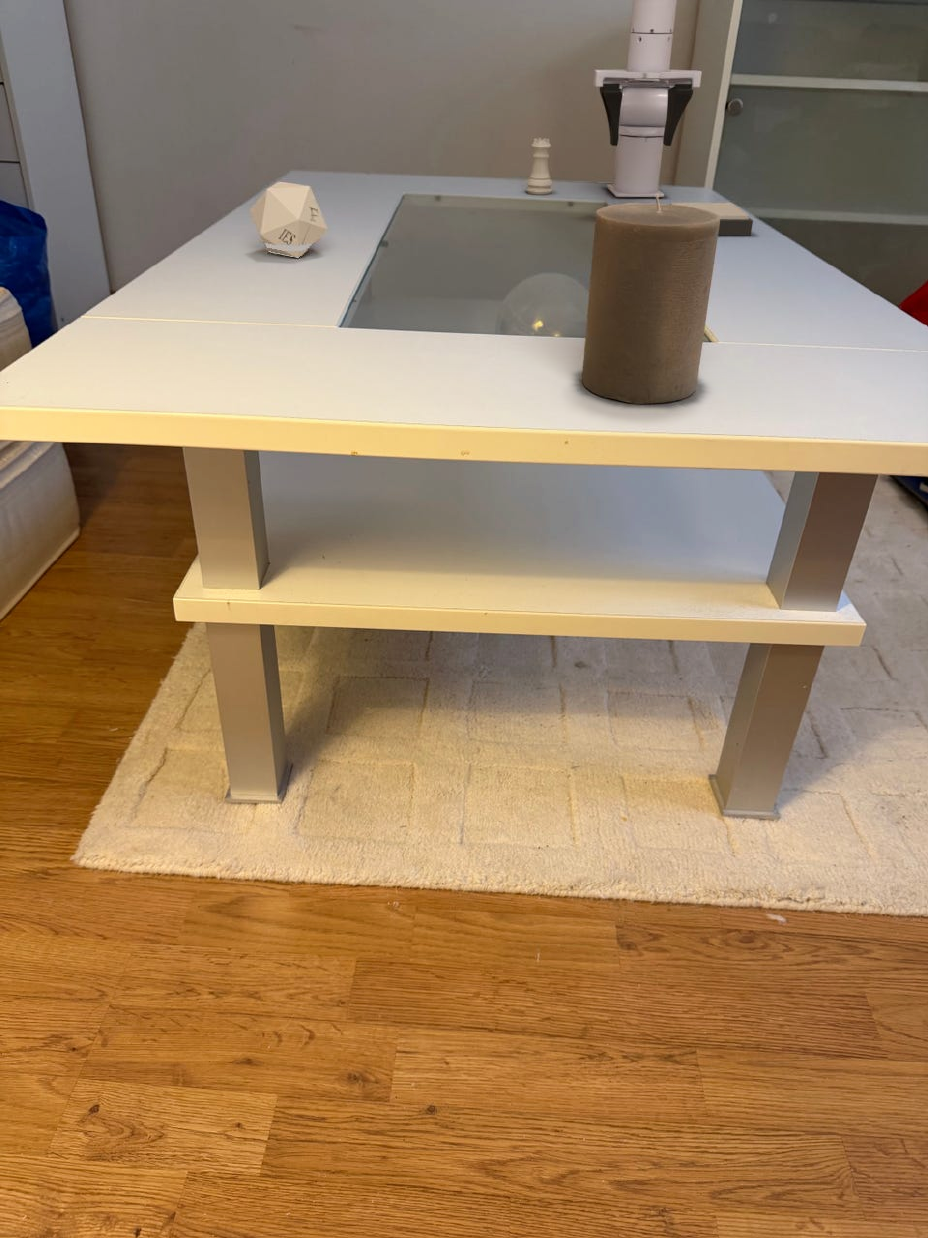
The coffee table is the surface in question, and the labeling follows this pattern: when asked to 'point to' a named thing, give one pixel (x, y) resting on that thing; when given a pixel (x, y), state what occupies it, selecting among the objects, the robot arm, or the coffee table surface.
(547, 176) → the rook chess piece
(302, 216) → the die
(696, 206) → the scale
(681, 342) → the pillar candle
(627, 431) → the coffee table surface
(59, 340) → the coffee table surface
